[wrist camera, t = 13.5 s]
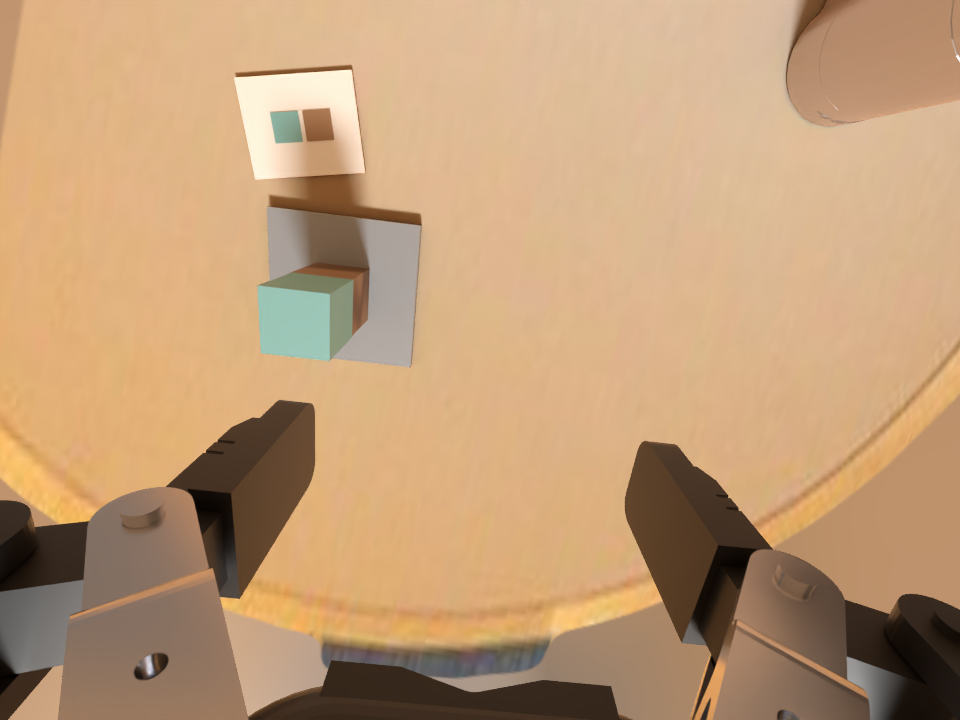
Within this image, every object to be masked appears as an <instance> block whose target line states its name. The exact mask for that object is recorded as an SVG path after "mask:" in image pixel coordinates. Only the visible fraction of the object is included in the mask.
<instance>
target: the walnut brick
mask: <svg viewBox="0 0 960 720" xmlns="http://www.w3.org/2000/svg"><path fill="white" fill-rule="evenodd" d="M291 273H292V272H291ZM293 273H302V274H310V275H318V276H327V277H335V278H344V279H352V280H353V322H352V336H353V335H354V334H355V333H356V331H357V330H358V329H359V328H360V327H361V326H362V325H363V324H364V323H365V322H366V321H367V320H368V304H369V276H370V269H366V268H358V267H350V266H341V265H333V264H325V263H314V264H312V265H309V266H306V267H304V268H301V269H298V270H296V271H293Z"/></svg>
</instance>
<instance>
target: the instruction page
mask: <svg viewBox="0 0 960 720" xmlns="http://www.w3.org/2000/svg"><path fill="white" fill-rule="evenodd" d="M234 79H235V84H236V89H237V94H238V99H239V104H240V108H241V113H242V118H243V123H244V128H245V132H246V137H247V142H248V147H249V152H250V156H251V161H252V166H253V171H254V176H255V179H256V180H257V179H273V178H289V177H306V176H322V175H338V174H354V173H365V165H364V158H363V150H362V143H361V135H360V127H359V120H358V112H357V104H356V97H355V89H354V81H353V74H352V70H339V71H324V72H309V73H294V74H280V75H265V76H250V77H236V78H234Z"/></svg>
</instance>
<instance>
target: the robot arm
mask: <svg viewBox="0 0 960 720" xmlns="http://www.w3.org/2000/svg"><path fill="white" fill-rule="evenodd" d="M787 87H788V92H789V96H790V99H791V102H792V103H793V105H794V107H795V109H796V110H797V111H798V112H799V113H800V114H801V115H802V117H803V118H805V119H807V120H808V121H810V122H812V123H815V124H818V125H822V126H836V125H842V124H849V123H855V122H859V121H863V120H867V119H871V118H876V117H881V116H886V115H891V114H895V113H900V112H905V111H910V110H914V109H919V108H924V107H929V106H933V105H938V104H943V103H948V102H952V101H957V100H960V0H826V2H825V5H824V7H823V9H822V11H821V12H820V13H819V14H818V15H817V16H816V17H815V18H814V19H813V20H812V21H811V22H810V23H809V24H808V25H807V27H806V28H805V29H804V31H803V32H802V33H801V35H800V36H799V38H798V40H797V42H796V44H795V46H794V48H793V50H792V54H791V57H790V60H789V64H788V71H787ZM314 466H315V411H314V407H313V405H312V404H311V403H302V402H293V401H284V400H279V401H277V402H276V403H275V404H274V405H273V406H272V407H271V408H270V409H269V410H268V411H267V412H266V413H265V414H264V415H263V416H262V417H261V418H251V419H249V420H246V421H244V422H242V423H240V424H238V425H236V426H233V427H232V428H230V429H229V430H228V431H227V432H226V433H225V434H224V435H223V436H222V437H220V438H219V439H218V442H215V443H214V444H213V445H212V446H210V447H209V448H208V449H207V450H206V453H203V454H202V455H200V456H199V457H198V458H197V459H196V460H195V461H194V462H193V463H192V464H190V465H189V466H188V467H187V468H186V469H185V470H184V471H183V472H182V473H180V474H179V475H178V476H177V477H176V478H175V479H174V480H173V481H172V482H171V483H169V484H168V485H167V486H166V487H157V488H149V489H143V490H139V491H136V492H132V493H129V494H126V495H124V496H121V497H119V498H117V499H115V500H113V501H111V502H109V503H108V504H106V505H105V506H103V507H102V508H101V509H99V510H98V511H97V512H96V513H95V514H94V515H93V516H92V518H91V519H90V521H87V522H78V523H69V524H60V525H51V526H42V527H35V526H34V522H33V519H32V515H31V511H30V508H29V507H28V506H27V505H25V504H23V503H20V502H17V501H7V500H6V501H3V500H2V501H1V500H0V720H8V719H9V718H10V716H11V715H12V714H13V713H14V712H15V711H16V710H17V708H18V707H19V706H20V705H21V704H22V703H23V701H24V700H25V699H26V698H27V697H28V695H29V694H30V693H31V692H32V691H33V689H35V687H36V686H37V685H38V684H39V683H40V681H41V680H42V679H43V678H44V677H45V676H46V674H47V673H48V672H49V671H50V670H51V669H52V667H54V666H59V665H63V675H62V685H61V695H60V706H59V714H58V720H631V719H629V718H627V717H625V716H622V715H620V714H618V712H617V708H616V704H615V700H614V696H613V692H612V688H611V686H602V685H592V684H591V685H590V684H581V683H580V684H579V683H569V682H558V681H548V680H541V681H536V682H530V683H525V684H519V685H514V686H509V687H503V688H498V689H493V690H487V691H482V692H468V691H464V690H462V689H459V688H456V687H454V686H451V685H448V684H445V683H443V682H440V681H438V680H435V679H432V678H430V677H427V676H424V675H422V674H419V673H416V672H413V671H411V670H408V669H405V668H403V667H397V666H386V665H376V664H365V663H354V662H343V661H332V660H331V663H330V666H329V669H328V672H327V675H326V678H325V681H324V685H323V686H321V687H316V688H311V689H307V690H304V691H301V692H298V693H294V694H291V695H289V696H287V697H284V698H282V699H280V700H277V701H275V702H273V703H271V704H269V705H267V706H266V707H264V708H262V709H260V710H258V711H256V712H255V713H253V714H252V715H250V716H249V717H248V715H247V711H246V706H245V702H244V698H243V694H242V689H241V685H240V681H239V677H238V672H237V668H236V664H235V660H234V655H233V651H232V647H231V643H230V638H229V635H228V630H227V626H226V621H225V617H224V613H223V609H222V604H221V600H220V597H227V598H238V599H240V597H241V596H242V594H243V593H244V591H245V589H246V588H247V586H248V584H249V583H250V581H251V579H252V578H253V576H254V575H255V573H256V571H257V570H258V568H259V566H260V565H261V563H262V562H263V560H264V558H265V557H266V555H267V553H268V552H269V550H270V548H271V547H272V545H273V544H274V542H275V540H276V539H277V537H278V535H279V534H280V532H281V531H282V529H283V527H284V526H285V524H286V522H287V521H288V519H289V517H290V516H291V514H292V513H293V511H294V509H295V508H296V506H297V504H298V503H299V501H300V500H301V498H302V496H303V495H304V493H305V491H306V490H307V488H308V486H309V484H310V482H311V479H312V476H313V472H314ZM625 514H626V518H627V521H628V524H629V526H630V528H631V530H632V533H633V535H634V537H635V539H636V542H637V544H638V546H639V548H640V551H641V553H642V555H643V557H644V560H645V562H646V564H647V566H648V568H649V571H650V573H651V575H652V577H653V580H654V582H655V584H656V586H657V589H658V591H659V593H660V595H661V598H662V600H663V602H664V604H665V607H666V609H667V611H668V613H669V615H670V618H671V620H672V622H673V624H674V627H675V629H676V631H677V633H678V636H679V638H680V640H681V642H682V643H687V644H697V645H707V646H708V649H709V651H710V652H711V655H710V657H709V660H708V662H707V665H706V667H705V670H704V674H703V677H702V680H701V683H700V687H699V690H698V693H697V697H696V700H695V703H694V706H693V710H692V713H691V716H690V720H960V610H959V609H957V608H955V607H953V606H951V605H948V604H946V603H944V602H942V601H939V600H936V599H934V598H930V597H927V596H923V595H918V594H905V595H902V596H901V597H900V598H899V599H898V601H897V602H896V604H895V606H894V608H893V609H892V611H891V613H890V614H887V613H884V612H881V611H878V610H875V609H872V608H869V607H866V606H863V605H860V604H857V603H853V602H850V601H847V600H844V597H843V595H842V593H841V591H840V590H839V588H838V587H837V586H836V585H835V584H834V582H833V581H832V580H830V579H829V578H828V577H827V576H826V575H825V574H824V573H822V572H821V571H820V570H818V569H817V568H815V567H814V566H812V565H811V564H809V563H807V562H805V561H804V560H801V559H800V558H798V557H795V556H793V555H790V554H787V553H784V552H781V551H776V550H773V549H772V548H771V547H770V545H769V544H768V543H767V542H766V541H765V539H764V538H763V537H762V536H761V534H760V533H759V532H758V531H757V530H756V528H755V527H754V526H753V525H752V524H751V522H750V521H749V520H748V519H747V518H746V516H745V515H744V514H743V513H742V512H741V511H739V510H738V507H737V505H736V504H735V503H734V502H733V501H732V499H731V498H728V495H727V493H726V492H725V491H724V490H723V489H722V487H721V486H720V485H719V484H718V482H717V481H716V480H714V479H713V478H712V477H710V476H709V475H707V474H706V473H705V472H703V471H702V470H701V469H699V468H698V467H694V466H693V465H692V464H691V462H690V461H689V460H688V459H687V457H686V456H685V455H684V453H683V452H682V451H681V450H680V448H679V447H678V446H677V445H675V444H667V443H658V442H649V441H644V442H642V443H641V445H640V446H639V448H638V452H637V455H636V459H635V463H634V466H633V470H632V474H631V477H630V481H629V485H628V488H627V492H626V497H625Z"/></svg>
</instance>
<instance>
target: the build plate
mask: <svg viewBox="0 0 960 720" xmlns="http://www.w3.org/2000/svg"><path fill="white" fill-rule="evenodd" d="M267 220H268V246H269V272H270V281H271V280H274V279H276V278H279V277H282V276H284V275H287V274H289V273H291V272H293V271H296V270H298V269H301V268H304V267H306V266H309V265H312V264H314V263H325V264H333V265H341V266H350V267H358V268H366V269H370V276H369V304H368V320H367V321H366V322H365V323H364V324H363V325H362V326H361V327H360V328H359V329H358V330H357V331H356V333H355V334H354V335H353V336H352V338H351V339H350V340H349V341H348V342H347V343H346V344H345V345H344V346H343V347H342V349H341V350H340V351H339V352H338V353H337V354H336V355H335V356H334V357H333V359H342V360H351V361H360V362H368V363H377V364H386V365H395V366H404V367H411V365H412V352H413V338H414V324H415V310H416V297H417V283H418V269H419V255H420V241H421V227H422V225H416V224H407V223H399V222H391V221H383V220H375V219H367V218H359V217H351V216H343V215H335V214H327V213H319V212H311V211H303V210H295V209H287V208H279V207H267Z"/></svg>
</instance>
